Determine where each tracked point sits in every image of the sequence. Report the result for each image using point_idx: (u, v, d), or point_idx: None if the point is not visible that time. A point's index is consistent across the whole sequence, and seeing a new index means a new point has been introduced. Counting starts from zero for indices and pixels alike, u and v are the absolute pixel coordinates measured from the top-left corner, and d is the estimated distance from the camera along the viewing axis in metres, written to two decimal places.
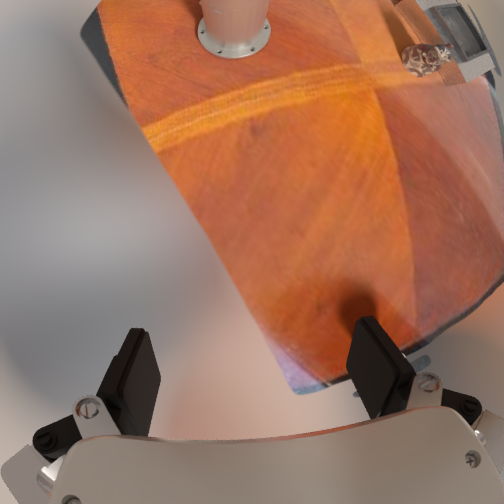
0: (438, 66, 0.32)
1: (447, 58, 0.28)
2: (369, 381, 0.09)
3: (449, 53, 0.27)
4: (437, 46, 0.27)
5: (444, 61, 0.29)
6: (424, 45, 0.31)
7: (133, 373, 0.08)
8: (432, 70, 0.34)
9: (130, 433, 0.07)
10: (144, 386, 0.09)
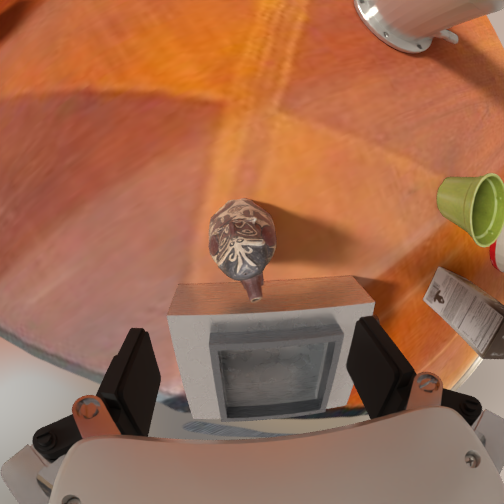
0: (216, 247, 0.24)
1: (226, 259, 0.20)
2: (369, 381, 0.09)
3: (237, 270, 0.20)
4: (263, 248, 0.20)
5: (222, 251, 0.21)
6: (271, 241, 0.24)
7: (133, 373, 0.08)
8: (212, 233, 0.25)
9: (131, 433, 0.07)
10: (144, 386, 0.09)
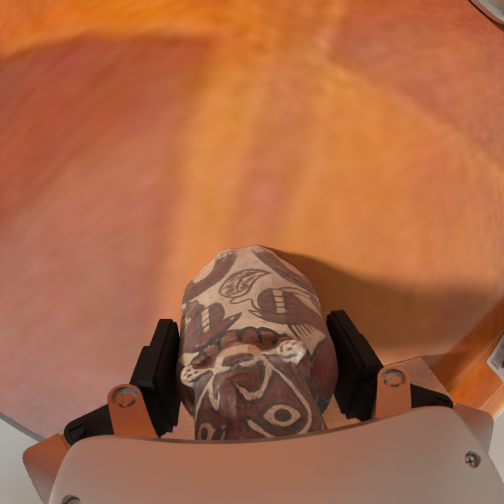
0: (190, 402, 0.08)
1: None
2: (338, 374, 0.10)
3: None
4: None
5: None
6: (331, 384, 0.08)
7: (167, 361, 0.09)
8: (182, 355, 0.09)
9: (164, 421, 0.08)
10: (174, 375, 0.10)
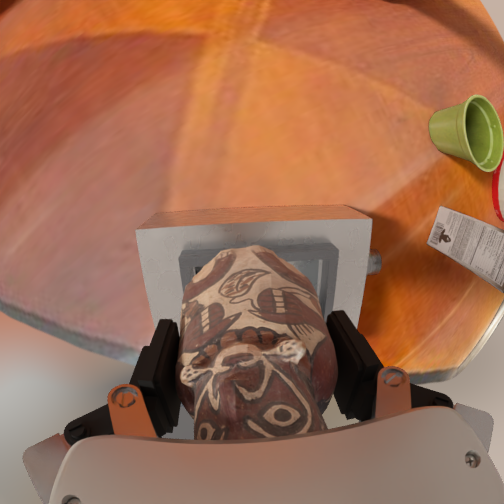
0: (190, 402, 0.08)
1: None
2: (338, 374, 0.10)
3: None
4: None
5: None
6: (331, 384, 0.08)
7: (167, 361, 0.09)
8: (182, 355, 0.09)
9: (164, 421, 0.08)
10: (174, 375, 0.10)
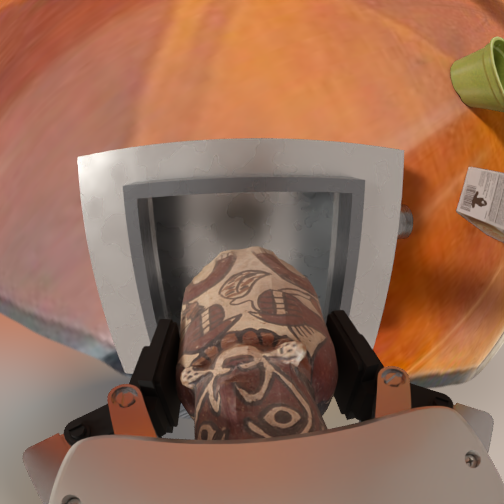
0: (190, 403, 0.08)
1: None
2: (338, 374, 0.10)
3: None
4: None
5: None
6: (331, 386, 0.08)
7: (167, 361, 0.09)
8: (182, 357, 0.09)
9: (164, 421, 0.08)
10: (174, 375, 0.10)
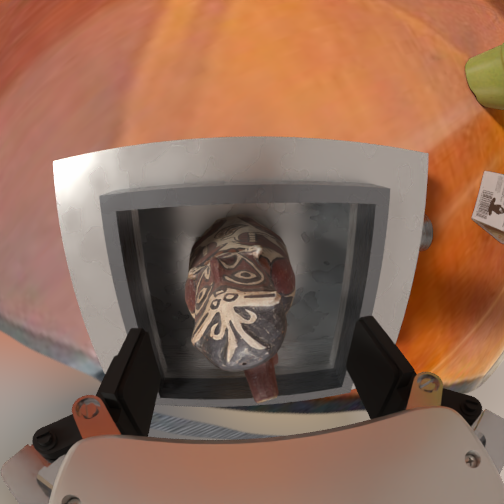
0: (194, 299, 0.14)
1: (206, 334, 0.10)
2: (369, 381, 0.09)
3: (228, 357, 0.09)
4: (278, 310, 0.10)
5: (198, 316, 0.11)
6: (288, 285, 0.14)
7: (133, 373, 0.08)
8: None
9: (131, 433, 0.07)
10: (144, 386, 0.09)
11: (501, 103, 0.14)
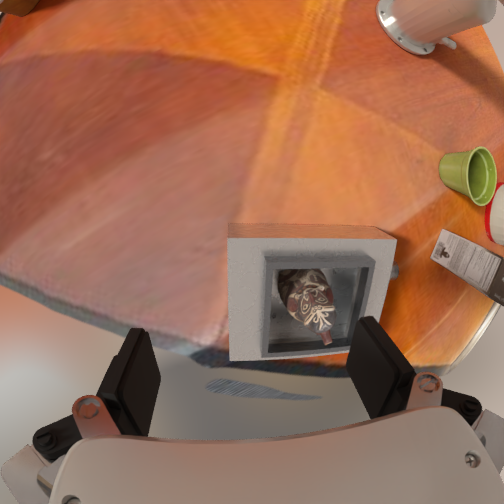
0: (295, 306, 0.33)
1: (311, 321, 0.29)
2: (369, 381, 0.09)
3: (319, 328, 0.29)
4: (334, 312, 0.29)
5: (306, 314, 0.30)
6: (331, 300, 0.33)
7: (133, 373, 0.08)
8: (289, 295, 0.34)
9: (131, 433, 0.07)
10: (144, 386, 0.09)
11: (457, 190, 0.34)
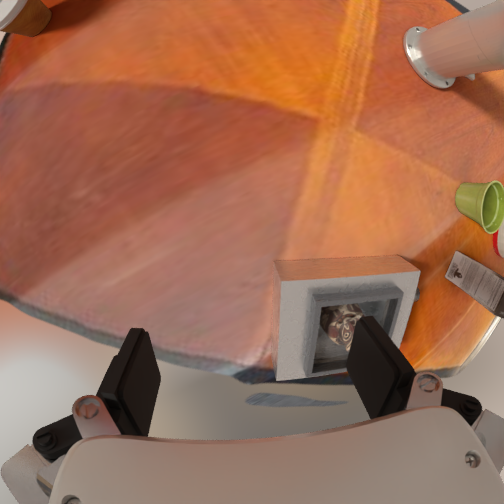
0: (336, 333, 0.36)
1: None
2: (369, 381, 0.09)
3: None
4: None
5: (347, 341, 0.33)
6: None
7: (133, 373, 0.08)
8: (330, 323, 0.38)
9: (130, 433, 0.07)
10: (144, 386, 0.09)
11: (471, 218, 0.37)
